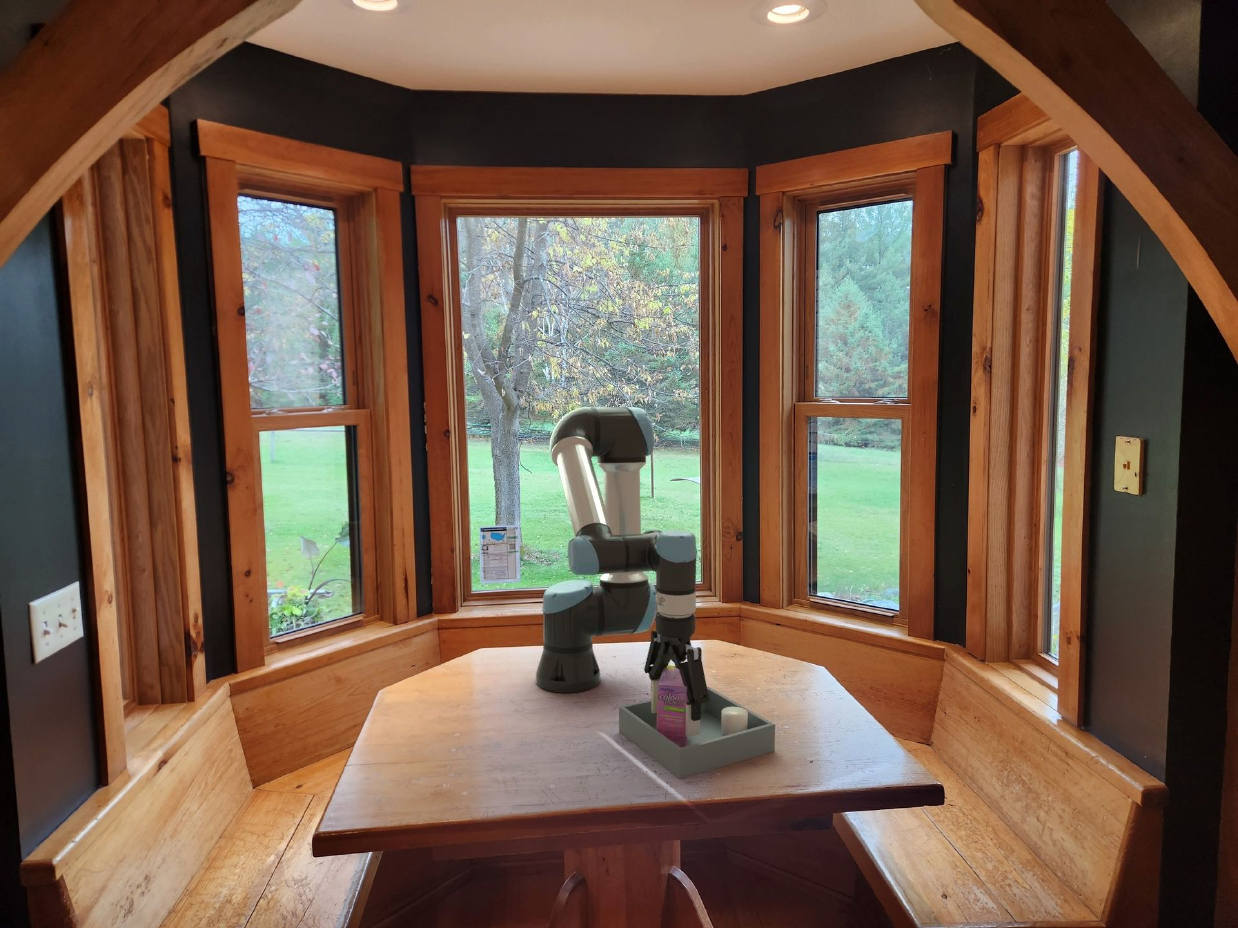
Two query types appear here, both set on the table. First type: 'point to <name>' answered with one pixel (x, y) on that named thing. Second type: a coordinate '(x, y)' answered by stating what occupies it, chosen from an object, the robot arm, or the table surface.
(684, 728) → the box
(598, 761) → the table surface
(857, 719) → the table surface
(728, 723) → the cream bullet shape
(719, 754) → the crate
